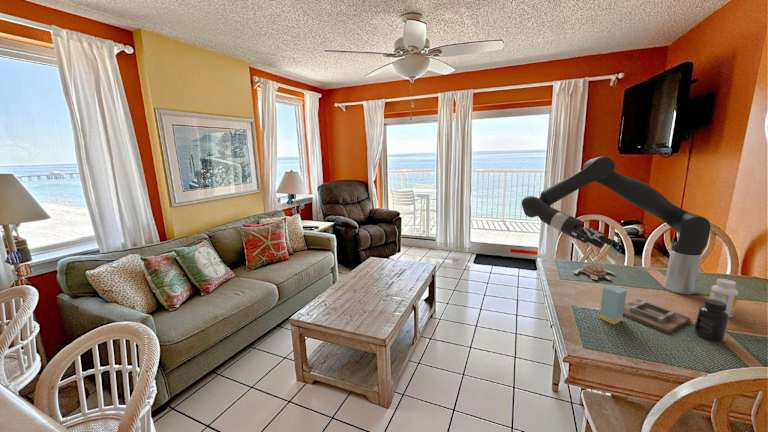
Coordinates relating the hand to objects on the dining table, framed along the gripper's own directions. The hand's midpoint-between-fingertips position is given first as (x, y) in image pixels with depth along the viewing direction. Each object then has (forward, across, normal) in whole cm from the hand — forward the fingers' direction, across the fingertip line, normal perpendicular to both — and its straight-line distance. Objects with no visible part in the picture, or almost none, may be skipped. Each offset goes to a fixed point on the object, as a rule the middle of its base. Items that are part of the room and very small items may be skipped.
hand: (607, 244), depth 114 cm
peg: (+14, -3, +23) cm, 27 cm away
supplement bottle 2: (+35, +11, +16) cm, 40 cm away
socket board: (+20, +11, +20) cm, 31 cm away
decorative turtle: (-8, +35, +28) cm, 45 cm away
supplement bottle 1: (+33, +33, +14) cm, 49 cm away
